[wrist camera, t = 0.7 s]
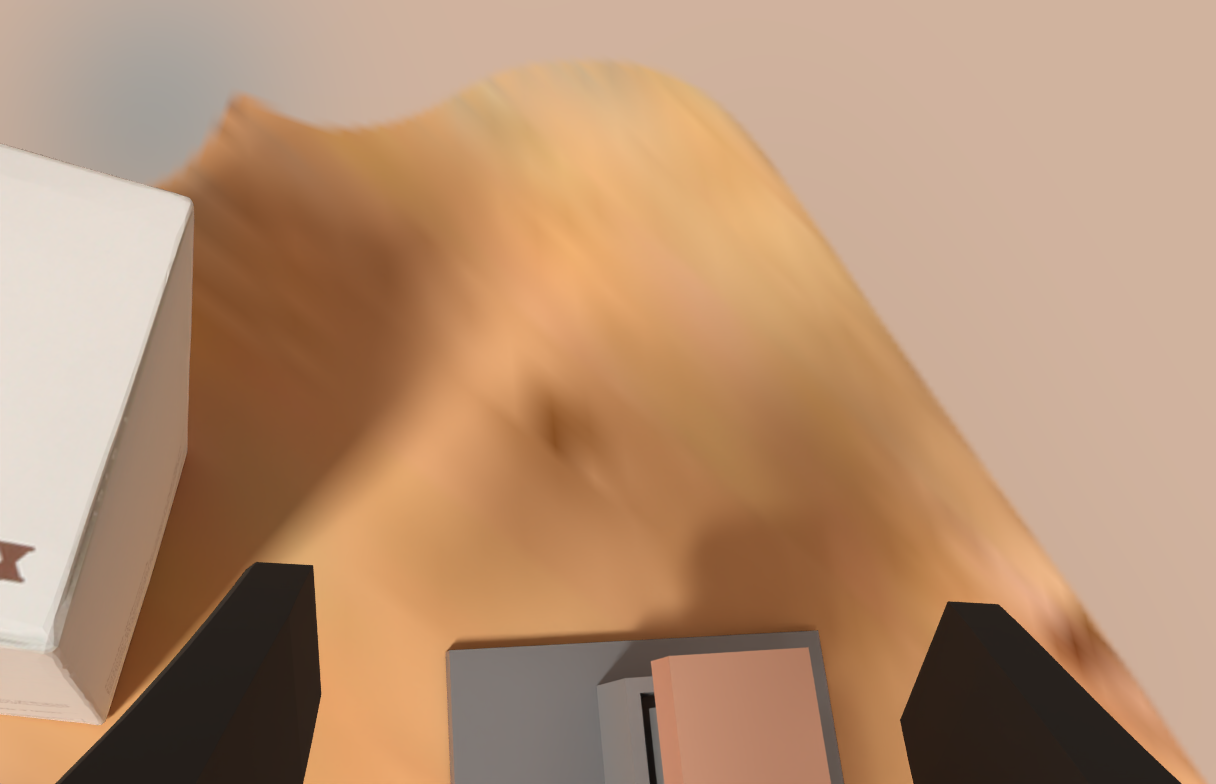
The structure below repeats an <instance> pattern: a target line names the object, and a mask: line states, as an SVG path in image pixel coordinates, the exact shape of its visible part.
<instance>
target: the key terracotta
mask: <svg viewBox="0 0 1216 784" xmlns="http://www.w3.org/2000/svg"><path fill="white" fill-rule="evenodd" d="M651 667H652V676H653V685H654V695H655V704H656V707H655V708H650V709H649V713H650V723H651V732H652V741H653V751H654V760H655V769H656V779H657V784H831V781H830V775H829V769H828V762H827V756H826V750H825V744H824V738H823V732H822V726H821V720H820V714H819V708H818V702H817V696H816V690H815V684H814V678H813V672H812V666H811V660H810V653H809V647H806V648H790V649H774V650H758V651H742V652H726V653H710V654H693V655H677V656H667V657H664V658H660V659H657V660H653V661H651Z"/></svg>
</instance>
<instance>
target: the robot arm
mask: <svg viewBox="0 0 1216 784" xmlns="http://www.w3.org/2000/svg"><path fill="white" fill-rule="evenodd" d="M320 698H321V682H320V666H319V650H318V635H317V619H316V603H315V587H314V571H313V565H298V564H280V563H263V562H256V563H254V564H253V565H252V566H250V567H249V568H248V569H246V570H245V572H244V573H243V574H242V576H241V577H240V578H239V580H238V581H237V582H236V583H235V585H234V586H233V587H232V589H231V590H230V591H229V592H228V594H227V595H226V596H225V597H224V599H223V600H222V601H221V602H220V604H219V605H218V606H217V607H216V609H215V610H214V611H213V612H212V614H211V615H210V616H209V617H208V618H207V620H206V621H205V622H204V623H203V624H202V626H201V627H200V628H199V629H198V630H197V632H196V633H195V634H194V635H193V636H192V638H191V639H190V640H189V641H188V642H187V643H186V645H185V646H184V647H183V648H182V649H181V651H180V652H179V653H178V654H177V655H176V656H175V658H174V659H173V660H172V661H171V662H170V663H169V664H168V665H167V667H166V668H165V669H164V670H163V671H162V672H161V673H160V674H159V675H158V677H157V678H156V679H155V680H154V681H153V682H152V683H151V684H150V685H149V687H148V688H147V689H146V690H145V691H144V692H143V693H142V694H141V695H140V697H139V698H138V699H137V700H136V701H135V702H134V703H133V704H132V705H131V707H130V708H129V709H128V710H127V711H126V712H125V713H124V714H123V715H122V716H121V717H120V719H119V720H118V721H117V722H116V723H115V724H114V725H113V726H112V727H111V728H110V729H109V730H108V731H107V732H106V733H105V734H104V735H103V736H102V737H101V738H100V739H99V740H98V741H97V742H96V743H95V744H94V745H93V746H92V747H91V748H90V749H89V750H88V751H87V752H86V753H85V754H84V755H83V756H82V757H81V758H80V759H79V760H78V761H77V762H76V763H75V764H74V765H73V766H72V767H71V768H70V769H69V770H68V771H67V772H66V773H65V774H64V776H63V777H62V778H61V779H60V780H59V781H58V782H57V783H56V784H303V781H304V776H305V772H306V767H307V762H308V758H309V753H310V748H311V743H312V738H313V733H314V728H315V723H316V718H317V713H318V708H319V703H320ZM900 721H901V726H902V731H903V736H904V741H905V746H906V751H907V756H908V761H909V765H910V770H911V774H912V778H913V783H914V784H1181V783H1180V782H1179V781H1178V780H1177V779H1176V778H1175V777H1174V776H1173V775H1172V774H1171V773H1169V772H1168V771H1167V770H1166V769H1165V768H1164V767H1163V766H1162V765H1161V764H1160V763H1159V762H1158V761H1157V760H1156V759H1155V758H1154V757H1153V756H1152V755H1151V754H1149V753H1148V752H1147V751H1146V750H1145V749H1144V748H1143V747H1142V746H1141V745H1140V744H1139V743H1138V742H1137V741H1136V740H1135V739H1134V738H1133V737H1132V736H1131V735H1130V734H1129V733H1128V732H1127V731H1126V730H1125V729H1124V728H1123V727H1122V726H1121V725H1120V724H1119V723H1118V722H1117V721H1116V720H1115V719H1114V718H1113V717H1112V716H1111V715H1110V714H1109V713H1108V712H1107V711H1106V710H1104V709H1103V708H1102V707H1101V706H1100V705H1099V704H1098V703H1097V702H1096V701H1095V700H1094V699H1093V698H1092V697H1091V696H1090V695H1089V694H1088V693H1087V692H1086V691H1085V689H1084V688H1083V687H1082V686H1081V685H1080V684H1079V683H1078V682H1077V681H1076V680H1075V679H1074V678H1073V677H1072V676H1071V675H1070V674H1069V673H1068V672H1067V671H1066V670H1065V669H1064V668H1063V667H1062V666H1061V665H1060V664H1059V663H1058V662H1057V661H1056V660H1055V659H1054V658H1053V657H1052V656H1051V655H1050V654H1049V653H1048V652H1047V651H1046V650H1045V649H1044V648H1043V647H1042V646H1041V645H1040V644H1039V643H1038V642H1037V641H1036V640H1035V639H1034V638H1033V637H1032V636H1031V635H1030V634H1029V633H1028V632H1027V631H1026V630H1025V629H1024V628H1023V627H1022V626H1021V625H1020V624H1019V623H1018V622H1017V621H1016V620H1015V619H1013V618H1012V617H1011V616H1010V615H1009V614H1008V613H1007V612H1006V611H1005V610H1004V609H1003V608H1002V607H1001V606H1000V605H999V604H983V603H966V602H947V605H946V607H945V610H944V612H943V615H942V617H941V620H940V622H939V625H938V627H937V630H936V632H935V635H934V637H933V640H932V642H931V645H930V647H929V650H928V652H927V655H926V657H925V660H924V662H923V665H922V667H921V670H920V672H919V675H918V677H917V680H916V682H915V685H914V687H913V690H912V692H911V695H910V697H909V700H908V702H907V705H906V707H905V710H904V712H903V715H902V717H901V719H900Z"/></svg>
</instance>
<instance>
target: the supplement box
mask: <svg viewBox="0 0 1216 784" xmlns="http://www.w3.org/2000/svg"><path fill="white" fill-rule="evenodd" d="M193 242H194V204H193V202H192V200H191V199H190V198H189V197H186V196H183V195H180V194H177V193H173V192H170V191H166V190H163V189H159V188H155V187H151V186H147V185H144V184H140V183H137V182H134V181H130V180H127V179H123V178H120V177H116V176H113V175H109V174H105V173H102V172H98V171H94V170H91V169H88V168H84V167H81V166H77V165H74V164H70V163H67V162H63V161H60V160H57V159H53V158H50V157H47V156H43V155H39V154H36V153H33V152H29V151H26V150H22V149H19V148H15V147H12V146H8V145H5V144H1V143H0V714H3V715H13V716H22V717H31V718H40V719H49V720H59V721H68V722H78V723H87V724H94V725H102V724H103V723H104V722H105V721H106V718H107V715H108V712H109V709H110V706H111V703H112V700H113V696H114V693H115V690H116V687H117V683H118V680H119V677H120V674H121V670H122V667H123V664H124V661H125V657H126V654H127V651H128V648H129V645H130V642H131V638H132V635H133V632H134V629H135V626H136V623H137V619H138V616H139V613H140V610H141V607H142V604H143V601H144V598H145V594H146V591H147V588H148V585H149V582H150V579H151V575H152V572H153V569H154V565H155V562H156V558H157V555H158V552H159V548H160V545H161V542H162V538H163V535H164V531H165V528H166V524H167V521H168V517H169V514H170V511H171V507H172V504H173V500H174V497H175V493H176V490H177V486H178V483H179V480H180V476H181V473H182V469H183V465H184V462H185V458H186V455H187V449H188V406H189V370H190V347H191V324H192V283H193Z"/></svg>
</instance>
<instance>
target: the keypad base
mask: <svg viewBox="0 0 1216 784" xmlns="http://www.w3.org/2000/svg"><path fill="white" fill-rule="evenodd" d="M806 647H809V653H810V660H811V666H812V672H813V678H814V684H815V690H816V696H817V702H818V708H819V714H820V720H821V726H822V732H823V738H824V744H825V750H826V756H827V762H828V769H829V775H830V781H831V784H844V780H843V774H842V769H841V763H840V757H839V751H838V745H837V739H836V733H835V727H834V721H833V715H832V710H831V704H830V698H829V692H828V686H827V680H826V674H825V668H824V662H823V656H822V651H821V645H820V639H819V633H818V630H817V631H799V632H780V633H762V634H743V635H725V636H706V637H688V638H669V639H651V640H632V641H614V642H595V643H577V644H558V645H540V646H521V647H503V648H484V649H466V650H449V651H447V652H446V673H447V699H448V725H449V750H450V776H451V784H657V779H656V769H655V760H654V751H653V741H652V732H651V723H650V713H649V709H650V708H655V707H656V704H655V695H654V685H653V676H652V667H651V661H653V660H657V659H660V658H664V657H667V656H677V655H693V654H710V653H726V652H742V651H758V650H774V649H790V648H806Z"/></svg>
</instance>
